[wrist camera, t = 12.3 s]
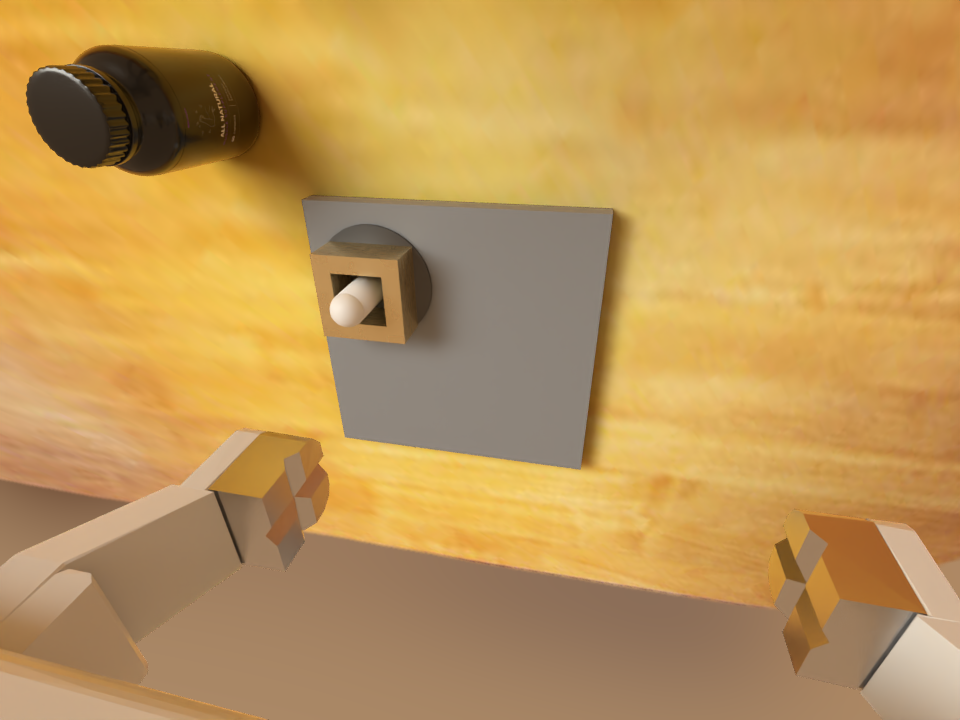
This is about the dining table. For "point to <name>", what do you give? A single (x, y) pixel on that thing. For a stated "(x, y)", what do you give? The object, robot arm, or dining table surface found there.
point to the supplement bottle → (144, 109)
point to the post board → (473, 325)
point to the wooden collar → (376, 261)
